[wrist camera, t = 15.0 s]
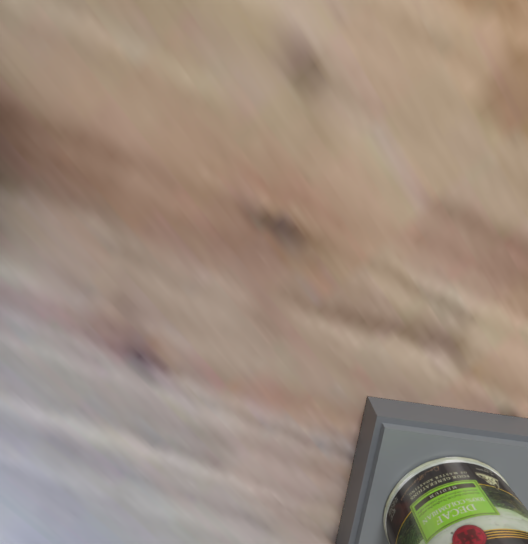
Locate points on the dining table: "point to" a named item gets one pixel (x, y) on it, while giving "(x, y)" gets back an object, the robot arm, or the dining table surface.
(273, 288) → the dining table surface
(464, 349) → the dining table surface
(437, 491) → the coffee can
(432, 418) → the pedestal
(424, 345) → the dining table surface
